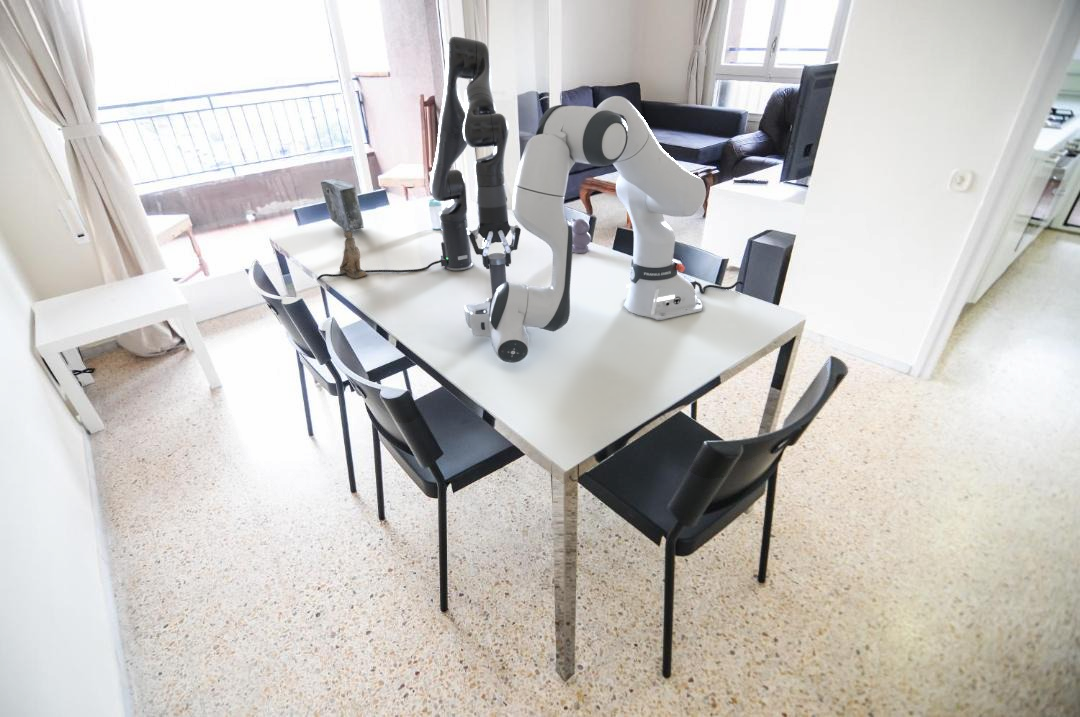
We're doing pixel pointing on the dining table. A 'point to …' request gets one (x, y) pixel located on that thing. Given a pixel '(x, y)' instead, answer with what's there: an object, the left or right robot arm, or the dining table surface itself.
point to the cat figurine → (580, 235)
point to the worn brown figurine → (351, 258)
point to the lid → (497, 258)
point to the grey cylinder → (497, 276)
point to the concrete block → (342, 204)
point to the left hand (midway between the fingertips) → (497, 266)
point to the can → (435, 213)
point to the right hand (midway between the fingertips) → (499, 299)
